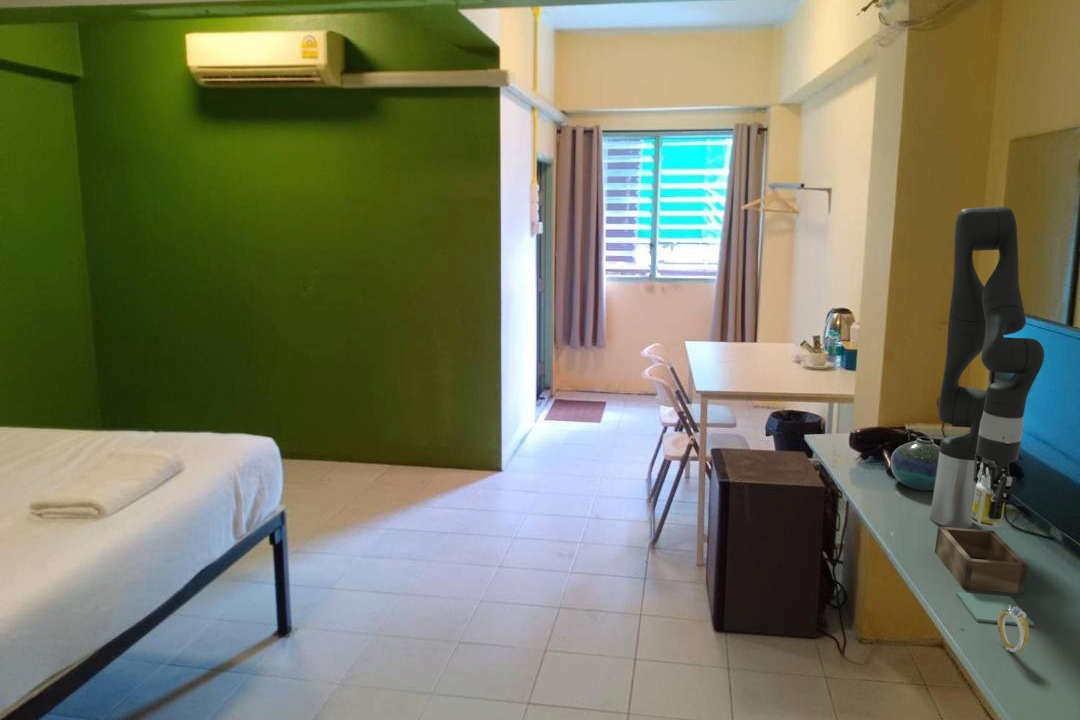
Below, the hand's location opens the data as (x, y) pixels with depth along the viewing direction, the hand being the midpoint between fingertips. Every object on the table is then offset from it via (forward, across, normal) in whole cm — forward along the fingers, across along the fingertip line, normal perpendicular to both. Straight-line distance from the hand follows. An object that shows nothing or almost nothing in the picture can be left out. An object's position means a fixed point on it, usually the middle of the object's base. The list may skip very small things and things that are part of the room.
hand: (987, 511), depth 163 cm
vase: (+14, -49, +4) cm, 52 cm away
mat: (+13, +16, -4) cm, 21 cm away
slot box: (+13, 0, 0) cm, 13 cm away
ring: (+13, +30, -7) cm, 34 cm away
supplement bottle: (+3, 0, 0) cm, 3 cm away
